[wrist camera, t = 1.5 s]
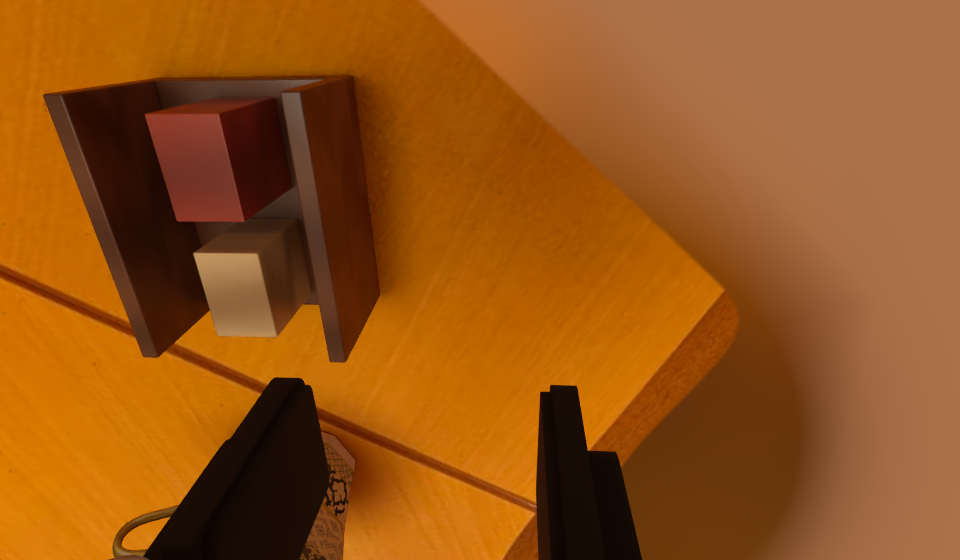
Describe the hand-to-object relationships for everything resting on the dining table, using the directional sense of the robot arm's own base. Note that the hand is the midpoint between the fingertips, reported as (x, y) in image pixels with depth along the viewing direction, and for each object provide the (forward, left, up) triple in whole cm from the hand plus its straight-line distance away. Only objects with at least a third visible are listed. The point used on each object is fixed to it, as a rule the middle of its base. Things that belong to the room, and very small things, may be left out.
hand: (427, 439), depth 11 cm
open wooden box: (0, -11, -17) cm, 21 cm away
